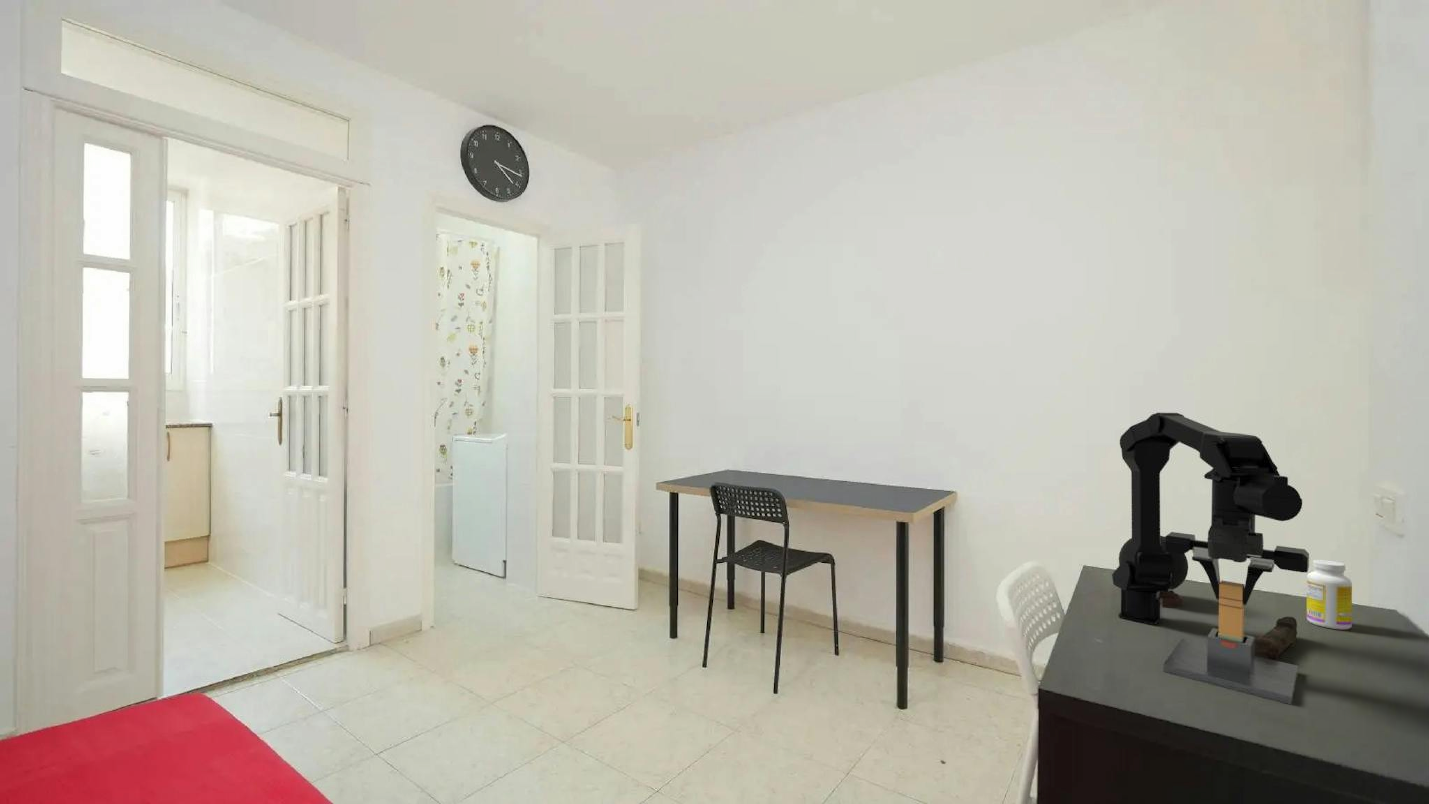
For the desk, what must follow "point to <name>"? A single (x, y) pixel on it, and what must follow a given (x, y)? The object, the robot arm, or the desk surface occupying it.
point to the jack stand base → (1233, 667)
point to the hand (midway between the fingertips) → (1231, 601)
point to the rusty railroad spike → (1276, 639)
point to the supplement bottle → (1329, 596)
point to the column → (1231, 611)
